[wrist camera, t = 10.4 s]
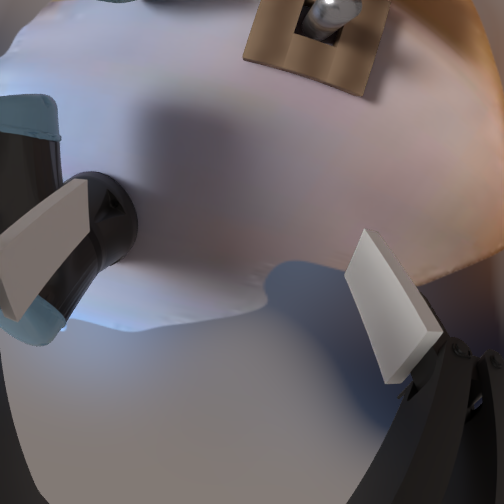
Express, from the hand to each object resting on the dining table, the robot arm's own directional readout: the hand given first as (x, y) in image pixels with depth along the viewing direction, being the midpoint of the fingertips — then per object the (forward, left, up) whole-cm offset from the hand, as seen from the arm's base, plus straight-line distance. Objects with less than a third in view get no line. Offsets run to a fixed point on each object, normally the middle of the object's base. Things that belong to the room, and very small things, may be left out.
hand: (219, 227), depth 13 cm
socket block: (+4, +17, -25) cm, 30 cm away
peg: (+4, +17, -25) cm, 30 cm away
